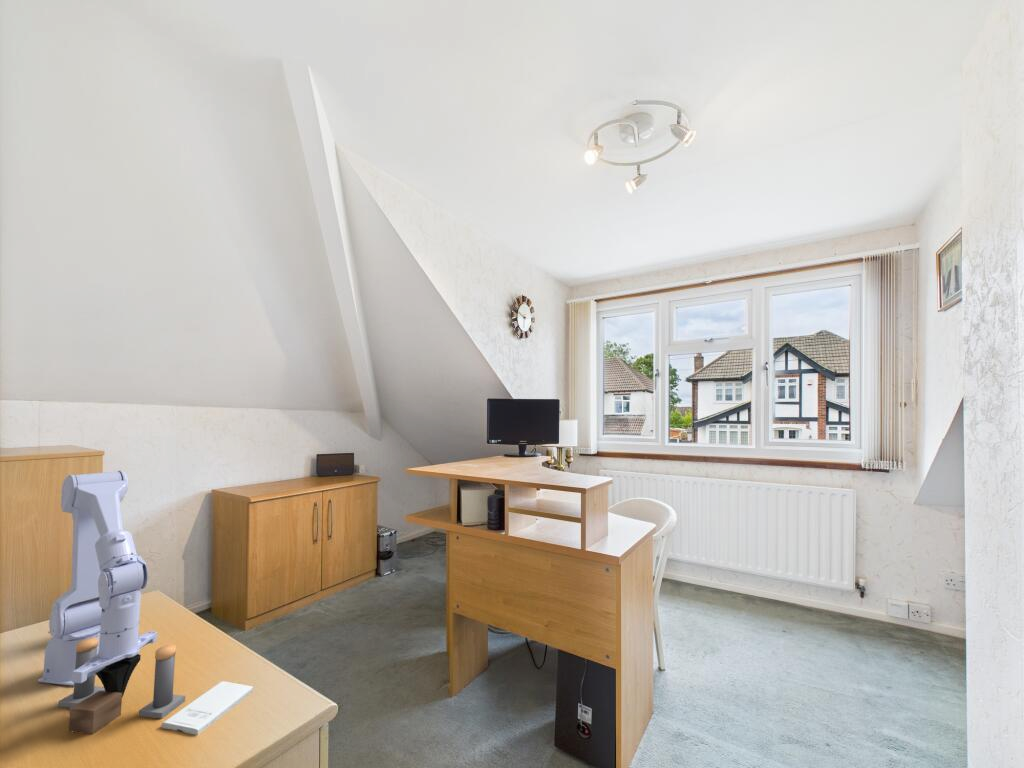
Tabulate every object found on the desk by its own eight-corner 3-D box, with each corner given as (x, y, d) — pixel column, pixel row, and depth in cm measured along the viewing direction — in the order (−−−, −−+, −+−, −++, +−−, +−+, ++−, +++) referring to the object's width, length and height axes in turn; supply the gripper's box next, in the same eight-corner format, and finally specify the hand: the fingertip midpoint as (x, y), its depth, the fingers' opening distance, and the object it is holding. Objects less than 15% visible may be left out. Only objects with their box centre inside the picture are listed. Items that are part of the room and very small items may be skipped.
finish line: (58, 706, 84) (62, 647, 85) (86, 690, 89) (90, 634, 90) (161, 718, 81) (165, 657, 82) (185, 701, 86) (188, 643, 87)
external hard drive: (253, 694, 89) (197, 738, 77) (220, 688, 91) (161, 730, 79) (253, 686, 89) (198, 728, 77) (220, 680, 91) (161, 721, 79)
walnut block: (68, 731, 78) (70, 708, 78) (98, 712, 83) (99, 690, 83) (92, 734, 77) (94, 710, 77) (120, 714, 82) (122, 692, 82)
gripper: (97, 648, 77) (92, 727, 76) (171, 611, 91) (167, 677, 91) (64, 645, 78) (58, 723, 77) (142, 609, 92) (138, 674, 91)
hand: (115, 698), depth 84 cm, fingers closed
